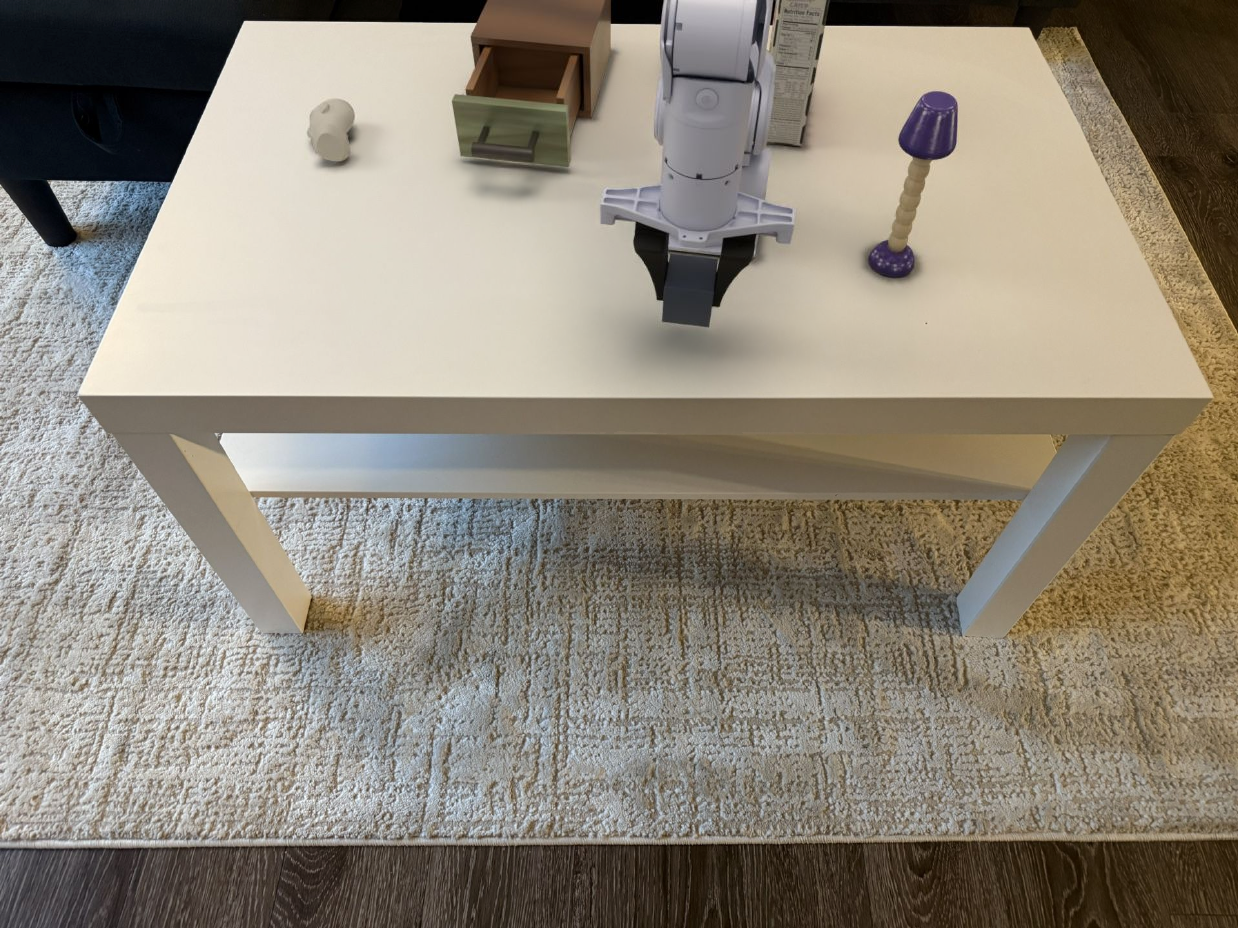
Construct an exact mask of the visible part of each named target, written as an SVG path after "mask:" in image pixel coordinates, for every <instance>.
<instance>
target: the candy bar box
mask: <svg viewBox="0 0 1238 928" xmlns="http://www.w3.org/2000/svg"><path fill="white" fill-rule="evenodd" d="M830 3H831V0H775V6H774V12H773V18H772V19H773V20H772V25H771V26H772V27H771V34H770V41H769V46H768V47H769V48H768V51H769V52H770V53H771V55H772V56H773V58H774V63H775V65H776V72H775V79H774V97H773V105H772V113H771V120H770V126H769V132H768V138H767V144H768V145H769V144H770V145H783V146H784V145H785V146H792V147H803V143H804V138H805V133H806V128H807V123H808V117H809V113H810V107H811V103H812V102H811V101H812V98H813V97H812V96H813V91H814V87H815V80H816V76H817V71H818V66H819V60H820V54H821V50H822V45H823V41H824V40H823V39H824V34H825V27H826V22H827V17H828V12H829V9H830Z"/></svg>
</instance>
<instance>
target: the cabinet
mask: <svg viewBox="0 0 1238 928" xmlns="http://www.w3.org/2000/svg"><path fill="white" fill-rule="evenodd" d="M611 20H612V0H486V3H485V4H484V7H483V9H482V11H481V13H480V15H479V17H478V20H477V21H476V23H475V25H474V28H473V30H472V31H471V34H470V43H471V50H472V58H473V64H474V65H473V66H474V68H475V67H476V64H477V62H478V60H479V58H480V56H481V53H482V51H483V49H484V47H485V45H493V46H504V47H514V48H525V49H536V50H547V51H558V52H569V53H580V54H582V72H583V97H582V100H581V104H580V107H579V110H578V113H577V117H576V118H585V119H592V117H593V114H594V111H595V107H596V104H597V101H598V98H599V94H600V90H601V87H602V83H603V80H604V77H605V73H606V70H607V66H608V63H609V59H610V56H611V53H612V46H611V45H612V30H611V29H612V21H611Z"/></svg>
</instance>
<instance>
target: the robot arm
mask: <svg viewBox="0 0 1238 928" xmlns="http://www.w3.org/2000/svg"><path fill="white" fill-rule="evenodd" d="M773 3H774V0H663V4H662V12H661V21H660V35H659V57H660V58H659V59H660V72H659V73H660V74H659V77H658V82H657V88H656V95H655V105H654V117H653V138H654V140H656V141H657V143H658V145H659V146H662V158H661V176H660V177H661V178H660V183H657V184H648V185H641V186H634V187H621V188H618V187H617V188H614V187H603V191H602V195H601V199H600V203H599V212H600V213H599V216H600V217H599V218H600V219H599V220H600V224H601V225H606V226H607V225H608V226H613V225H615V224H616V221H621V222H631V223H635V224H634V235H633V239H632V243H633V248H634V253H635V254H636V255H637V256H638V257H639V258H640V260H641V262H643V264H644V266H645V268H646V270H647V272H648V273H649V277H650V278H651V282H652V284H653V288H654V293H655V297H656V301H658V302H663V296H664V285H665V279H666V273H667V268H668V262H669V251H678V252H686V253H694V254H695V253H696V254H706V255H714V256H719V259H718V265H717V272H716V280H715V288H714V296H713V303H712V308H720V307H721V305H722V301H723V298H724V296H725V295H726V292H727V291H728V289H729V287H730V286H731V284H732V283H733V281H734V280H735V279H736V278H737V276H738V275H739V274H740V273H741V272H742V271H743V270H744V269H746V268H747V267H748V266H749V265H750V263H751V262H752V260H753V259H754V258H755V257H756V253H757V247H758V241H759V236H762V237H771V238H775V241H776V243H778V244H784V245H790V244H791V243H792V239H793V233H794V230H795V225H796V224H795V223H796V207H793V206H788V205H787V206H786V205H781V204H777V203H774V202H771V201H768V200H766V194H767V189H768V182H769V181H768V180H769V175H770V174H769V173H770V166H771V158H772V150H771V149H770V148H767V144H768V143H767V138H768V132H769V126H770V120H771V113H772V105H773V97H774V79H775V72H776V65H775V63H774V58H773V56H772V55H771V53H770V52H769V49H767V47H768V42H769V35H770V29H771V28H770V27H771V21H772V12H773V6H774V5H773Z"/></svg>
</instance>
